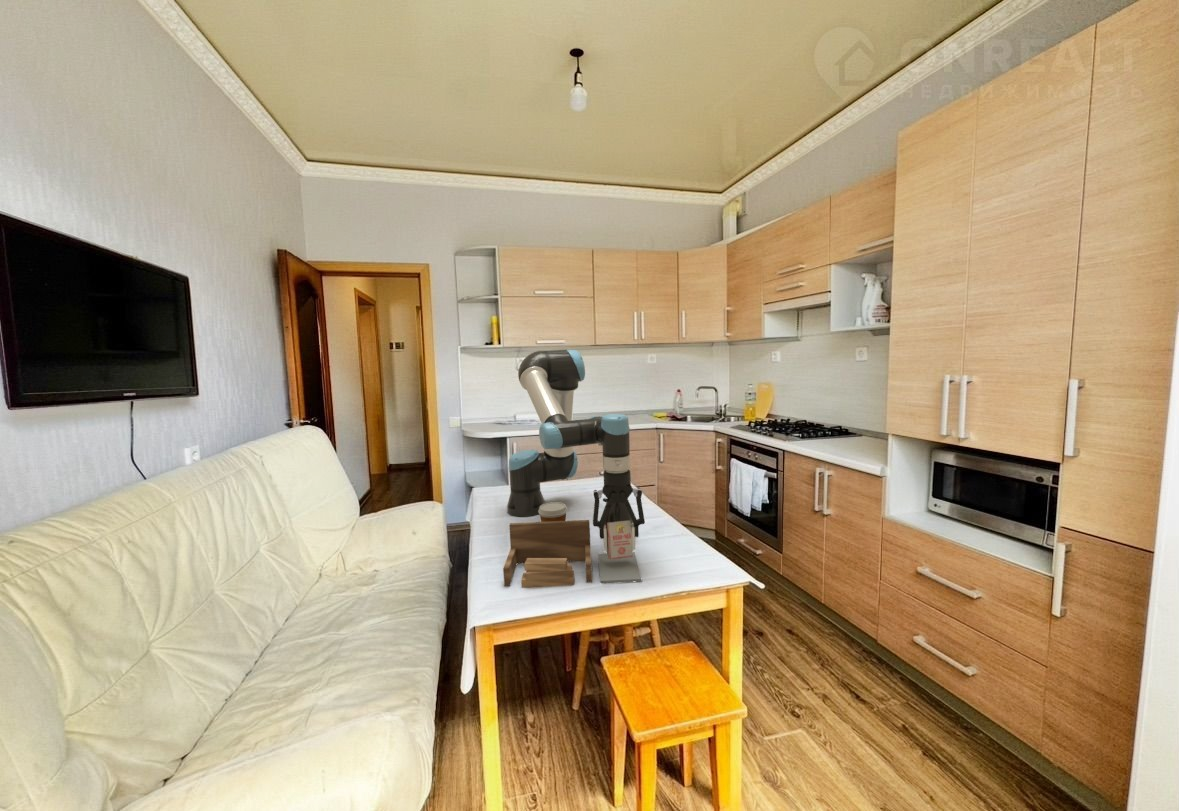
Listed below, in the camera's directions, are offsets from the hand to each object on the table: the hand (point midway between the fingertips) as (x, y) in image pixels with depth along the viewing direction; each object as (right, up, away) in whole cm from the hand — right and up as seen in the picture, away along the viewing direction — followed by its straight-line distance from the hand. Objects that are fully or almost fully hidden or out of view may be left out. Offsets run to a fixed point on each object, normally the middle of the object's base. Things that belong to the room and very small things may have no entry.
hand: (619, 548), depth 127 cm
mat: (0, -6, 0) cm, 6 cm away
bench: (-20, -6, 0) cm, 21 cm away
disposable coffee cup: (-20, -4, +19) cm, 28 cm away
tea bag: (0, -2, 0) cm, 2 cm away
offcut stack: (-20, -7, -6) cm, 22 cm away
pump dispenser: (+1, -3, +21) cm, 21 cm away
